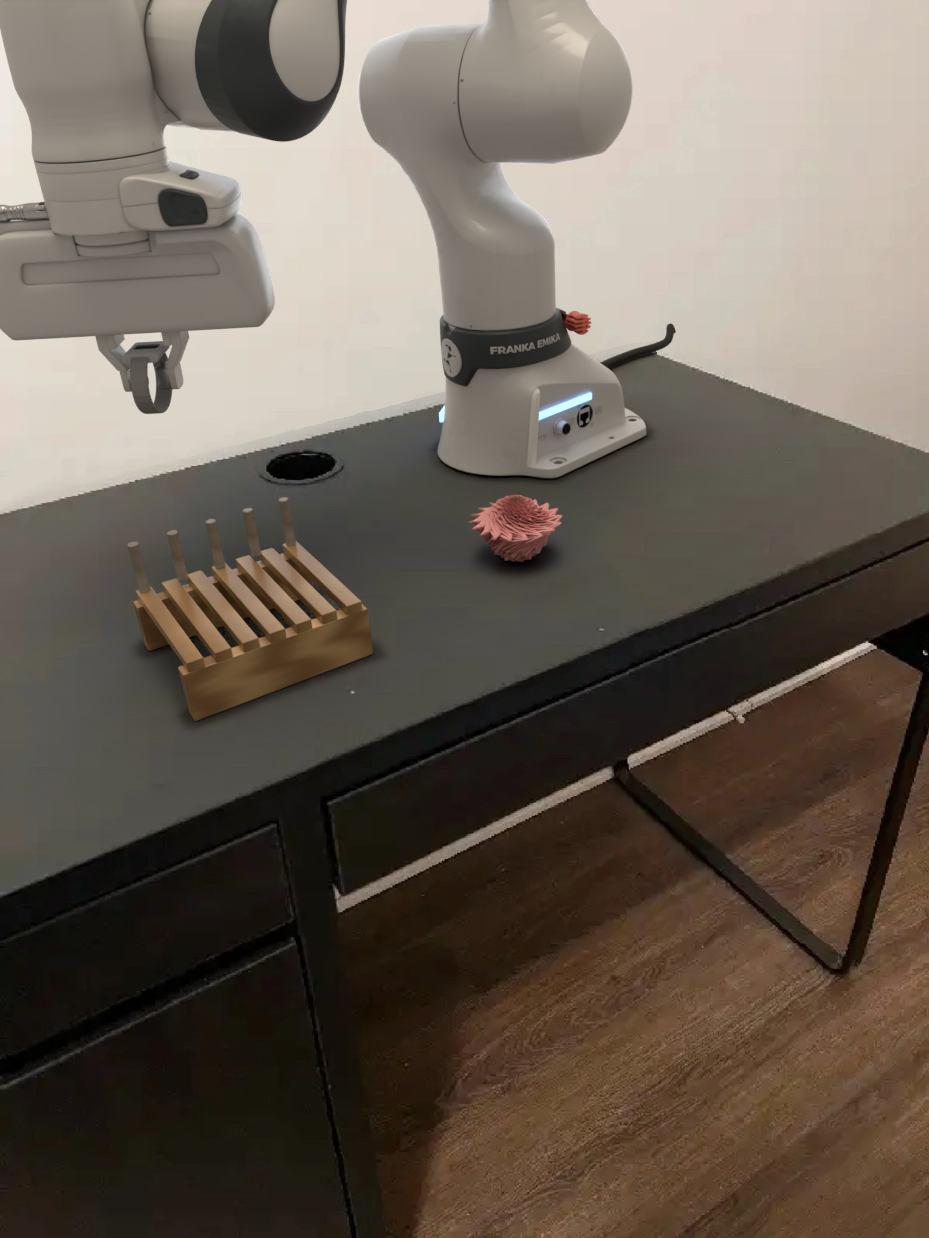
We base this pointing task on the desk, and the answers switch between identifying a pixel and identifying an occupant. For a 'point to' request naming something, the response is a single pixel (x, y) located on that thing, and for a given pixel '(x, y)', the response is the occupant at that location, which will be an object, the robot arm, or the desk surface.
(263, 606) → the rack
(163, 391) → the wristwatch
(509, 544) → the flower
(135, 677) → the desk surface
